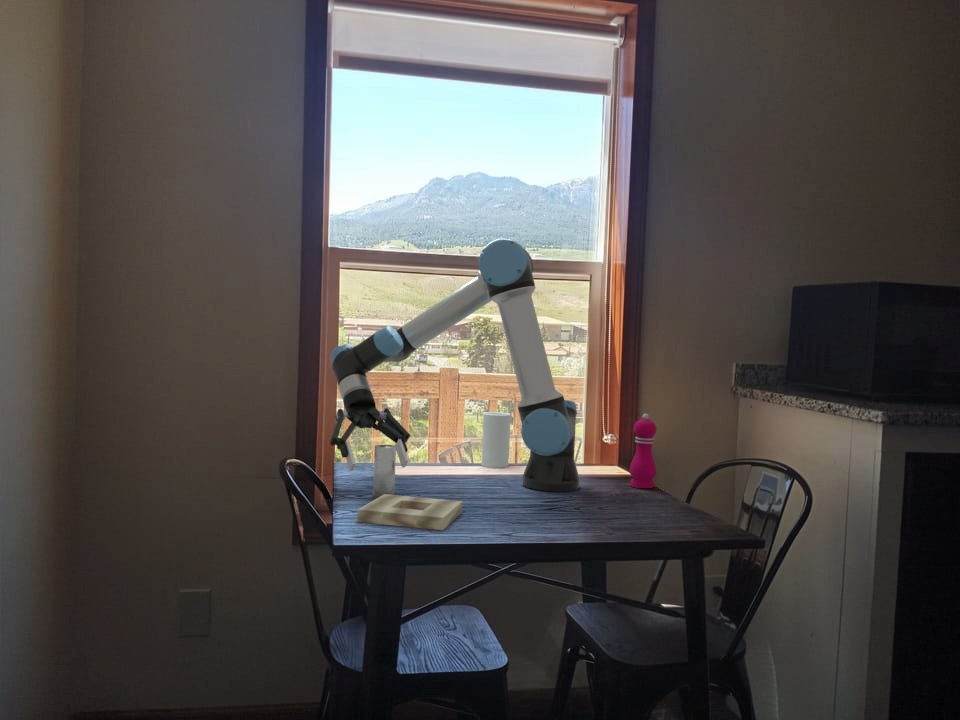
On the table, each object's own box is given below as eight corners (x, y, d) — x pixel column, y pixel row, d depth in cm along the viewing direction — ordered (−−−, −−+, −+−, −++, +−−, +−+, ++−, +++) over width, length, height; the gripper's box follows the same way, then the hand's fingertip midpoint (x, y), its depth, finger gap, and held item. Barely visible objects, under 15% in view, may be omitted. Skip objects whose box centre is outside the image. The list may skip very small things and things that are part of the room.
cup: (508, 468, 218) (511, 415, 218) (481, 467, 218) (483, 414, 218) (508, 464, 226) (510, 412, 226) (481, 462, 227) (483, 411, 226)
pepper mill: (647, 484, 203) (651, 412, 202) (660, 489, 196) (664, 415, 195) (624, 484, 201) (627, 412, 200) (636, 489, 194) (639, 414, 193)
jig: (462, 512, 160) (462, 501, 160) (442, 530, 144) (443, 517, 144) (384, 505, 164) (384, 494, 163) (357, 521, 148) (357, 509, 148)
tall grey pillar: (397, 495, 174) (399, 444, 174) (390, 500, 169) (392, 447, 169) (377, 494, 175) (379, 443, 175) (369, 498, 170) (371, 446, 170)
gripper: (396, 405, 194) (420, 471, 182) (305, 406, 181) (324, 478, 168) (406, 387, 189) (431, 453, 177) (313, 386, 176) (334, 458, 164)
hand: (379, 465), depth 173 cm, fingers open, 13 cm apart
